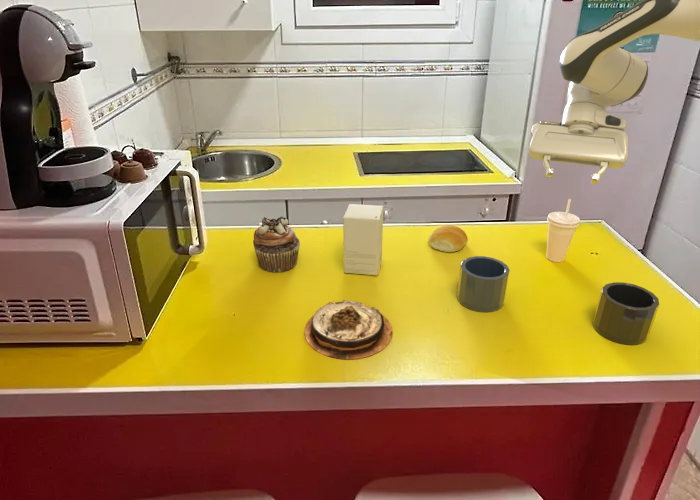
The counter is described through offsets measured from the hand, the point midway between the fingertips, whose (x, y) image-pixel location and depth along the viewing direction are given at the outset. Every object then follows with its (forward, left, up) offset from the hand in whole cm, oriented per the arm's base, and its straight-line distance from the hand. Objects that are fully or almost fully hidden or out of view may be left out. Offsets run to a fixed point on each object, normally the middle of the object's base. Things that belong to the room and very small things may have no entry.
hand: (571, 179), depth 113 cm
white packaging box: (+37, +29, -15) cm, 50 cm away
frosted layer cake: (+31, +51, -15) cm, 62 cm away
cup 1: (+12, +32, -15) cm, 38 cm away
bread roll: (+23, +12, -15) cm, 30 cm away
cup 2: (-12, +32, -15) cm, 38 cm away
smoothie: (0, +9, -15) cm, 18 cm away
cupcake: (+54, +35, -15) cm, 66 cm away
